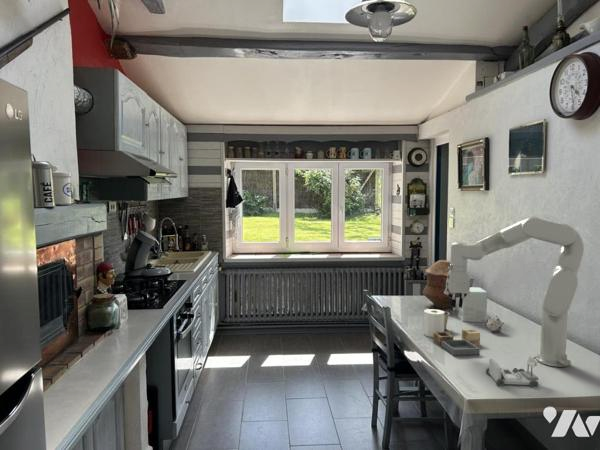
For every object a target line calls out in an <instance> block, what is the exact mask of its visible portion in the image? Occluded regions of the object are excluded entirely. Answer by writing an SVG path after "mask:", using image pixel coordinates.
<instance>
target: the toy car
mask: <svg viewBox="0 0 600 450" xmlns="http://www.w3.org/2000/svg"><path fill="white" fill-rule="evenodd" d="M526 362H527V369H526V370H527V371H526V370H525V369H524V368H517V367H514V368H513V369H512V370H511V371H510V370H509V369H503V368H502V367H501V366H500V365H499V364H498V363H497V362H496V361H495V360H494V359H493V358H489V360H488V367H487V368H486V370H485V374H486V375H489V376H491V378H492V379H493V380H494V381H495V385H496V386H497V387H504V386H505V385H521V386H522V385H524V386H526V385H527V386H530V388H538V387H539V382H538V381H539V377H538V376H537V375H536V374H534V373H533V367H534V368H535V367H537V366H538V365H537V364H538V361H537V360H536V356H534V357H532V356H531V355H528V356H527V361H526ZM529 368H530V369H529ZM529 370H530V371H529Z"/></svg>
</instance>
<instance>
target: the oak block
mask: <svg viewBox="0 0 600 450" xmlns="http://www.w3.org/2000/svg"><path fill="white" fill-rule="evenodd" d="M461 340H467V341H469V342H470V343H472V344H473V345H475V346H478V345H481V332H480V331H478V330H476V329H474V328H465V329H464V328H463V329H461Z"/></svg>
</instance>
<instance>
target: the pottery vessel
mask: <svg viewBox="0 0 600 450" xmlns="http://www.w3.org/2000/svg"><path fill="white" fill-rule="evenodd" d="M448 266H450V260H445V259H439V260H437V261H435V262H434V263H433V264H432V265H430V267H428V268H426V269H425V271H424V272H425V273H427V277H426V278H427V279H426V280H427V281H426V285H425V286H424V288H423V290H422V294H423V295H424V297H426V299H427V300H429V301H430V302H431V303H432V304H433V305H434V307H436V308H438V309H450V308H451V305H450V299H451V298H450V297H449V296H448V295H447V294H445V293H444V291H445V289H446V281H447V275H448V272H449V271H450V269H448ZM448 292H449V291H448ZM449 293H450V292H449Z"/></svg>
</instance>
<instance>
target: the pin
mask: <svg viewBox="0 0 600 450" xmlns="http://www.w3.org/2000/svg"><path fill="white" fill-rule="evenodd" d="M455 300H456V304H455V308H453V307H452V313H453V314H454V315H457V314H459V307H460V293H455Z"/></svg>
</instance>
